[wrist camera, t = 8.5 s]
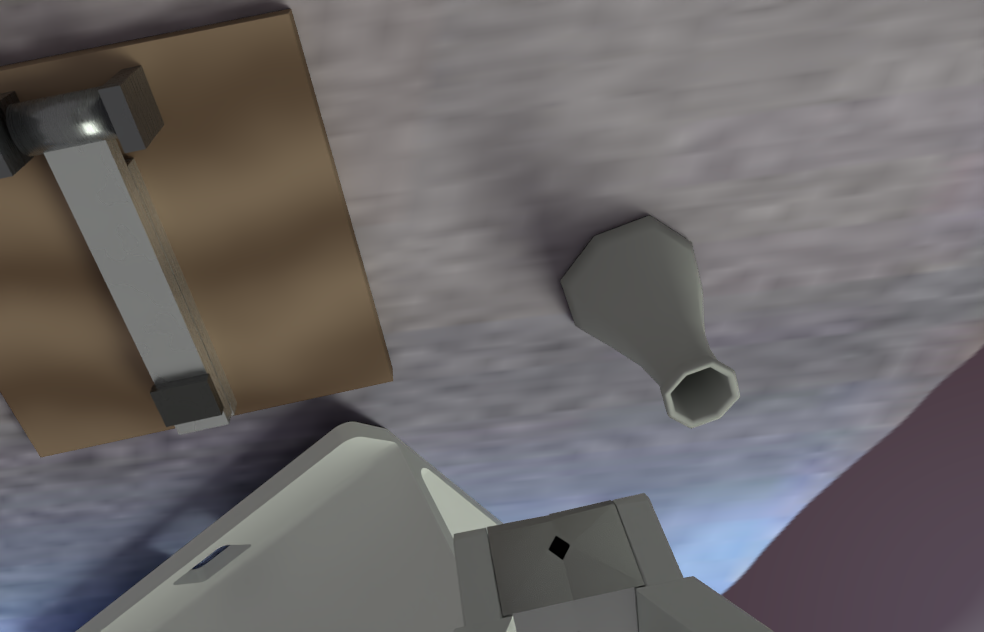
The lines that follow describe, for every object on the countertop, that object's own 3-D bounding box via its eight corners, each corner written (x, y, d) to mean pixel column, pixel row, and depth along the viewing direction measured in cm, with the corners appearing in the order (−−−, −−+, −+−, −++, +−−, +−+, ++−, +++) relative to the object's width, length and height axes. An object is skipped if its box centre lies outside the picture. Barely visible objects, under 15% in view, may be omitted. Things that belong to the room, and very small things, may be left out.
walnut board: (-158, 97, 31) (-176, 105, 30) (290, 8, 32) (288, 13, 31) (48, 442, 40) (40, 457, 39) (392, 367, 41) (393, 381, 40)
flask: (534, 276, 40) (581, 392, 31) (654, 188, 38) (738, 284, 30) (610, 364, 43) (671, 491, 34) (722, 287, 41) (815, 399, 33)
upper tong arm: (19, 97, 30) (-3, 112, 29) (111, 79, 30) (96, 92, 29) (173, 418, 39) (163, 445, 37) (245, 402, 39) (239, 429, 37)
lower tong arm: (-6, 94, 31) (-43, 118, 28) (141, 65, 31) (120, 85, 28) (156, 420, 39) (140, 462, 36) (270, 395, 39) (263, 435, 37)
